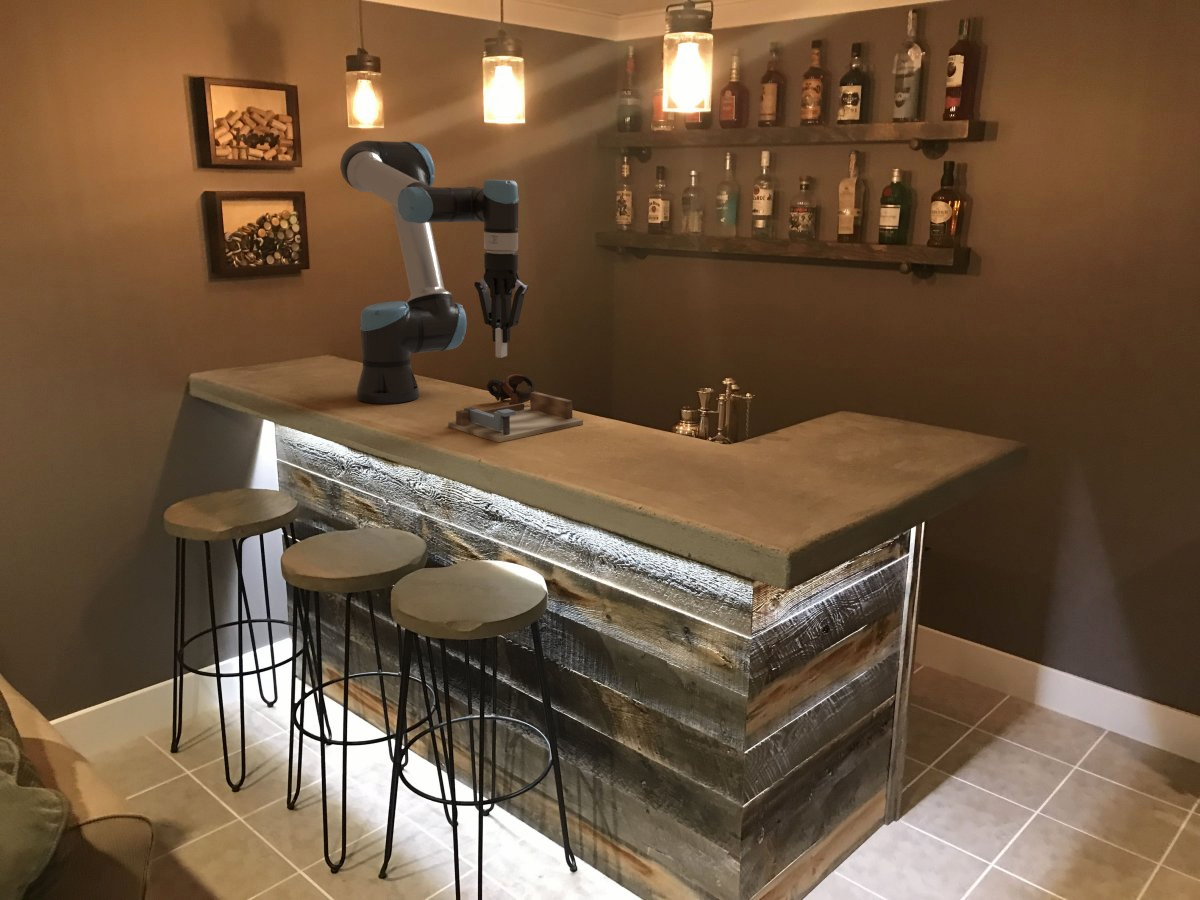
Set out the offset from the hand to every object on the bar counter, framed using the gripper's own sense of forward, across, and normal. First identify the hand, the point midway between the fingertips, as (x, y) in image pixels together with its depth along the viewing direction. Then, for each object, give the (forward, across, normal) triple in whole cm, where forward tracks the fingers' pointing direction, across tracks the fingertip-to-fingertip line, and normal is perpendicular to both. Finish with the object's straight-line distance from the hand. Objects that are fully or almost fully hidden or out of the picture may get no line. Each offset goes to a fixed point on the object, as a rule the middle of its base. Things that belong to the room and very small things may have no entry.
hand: (501, 356), depth 222 cm
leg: (+12, +6, -15) cm, 20 cm away
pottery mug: (+14, -4, +12) cm, 19 cm away
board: (+14, +8, -7) cm, 17 cm away
